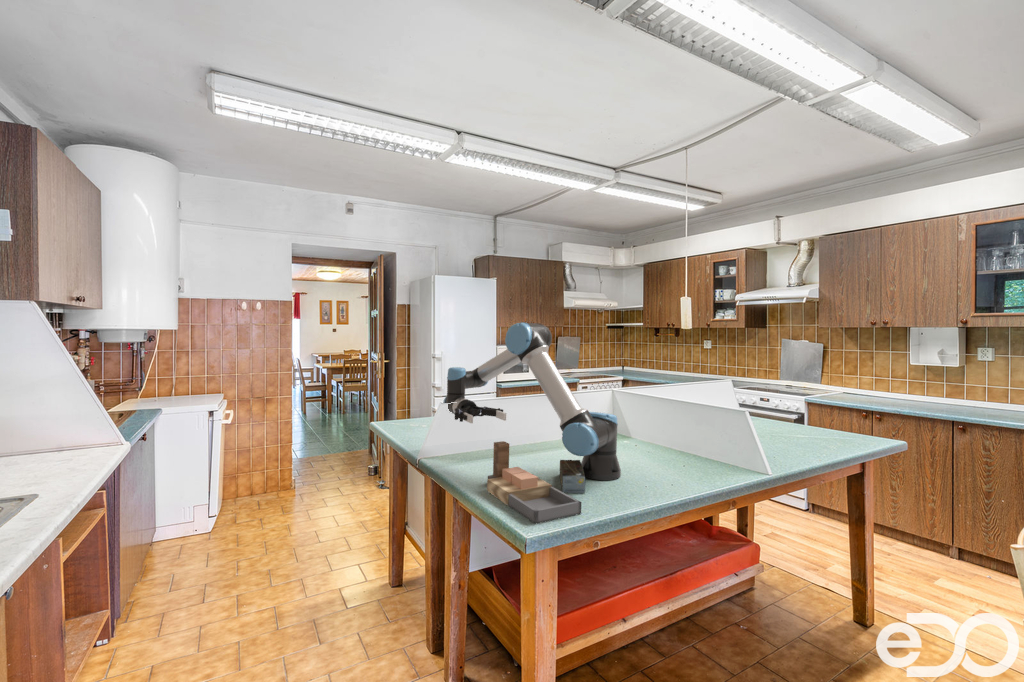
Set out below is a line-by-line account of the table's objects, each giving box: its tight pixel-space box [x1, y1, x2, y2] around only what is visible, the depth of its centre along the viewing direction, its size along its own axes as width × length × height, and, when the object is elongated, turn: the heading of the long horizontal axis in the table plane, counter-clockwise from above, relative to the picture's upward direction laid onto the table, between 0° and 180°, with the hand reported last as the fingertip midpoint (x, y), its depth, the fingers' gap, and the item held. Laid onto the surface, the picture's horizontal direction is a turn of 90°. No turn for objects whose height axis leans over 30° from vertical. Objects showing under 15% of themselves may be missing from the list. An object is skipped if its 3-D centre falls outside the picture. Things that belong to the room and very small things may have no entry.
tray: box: [507, 486, 582, 525], centre depth 141 cm, size 15×16×4 cm
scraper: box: [487, 440, 510, 479], centre depth 165 cm, size 4×8×14 cm, turn 120°
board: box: [486, 477, 553, 506], centre depth 154 cm, size 14×16×4 cm
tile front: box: [512, 471, 539, 489], centre depth 151 cm, size 6×6×3 cm
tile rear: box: [502, 466, 528, 483], centre depth 157 cm, size 6×6×3 cm
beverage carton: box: [559, 459, 586, 494], centre depth 166 cm, size 8×19×7 cm, turn 177°
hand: (489, 418), depth 173 cm, fingers open, 13 cm apart
